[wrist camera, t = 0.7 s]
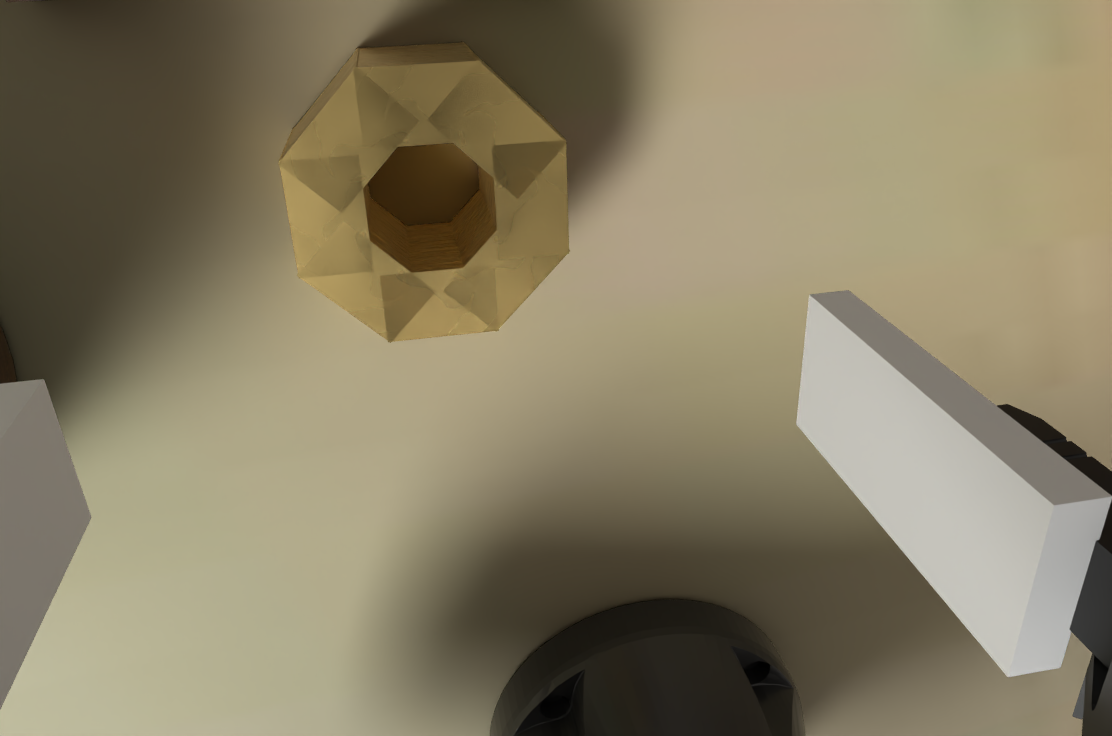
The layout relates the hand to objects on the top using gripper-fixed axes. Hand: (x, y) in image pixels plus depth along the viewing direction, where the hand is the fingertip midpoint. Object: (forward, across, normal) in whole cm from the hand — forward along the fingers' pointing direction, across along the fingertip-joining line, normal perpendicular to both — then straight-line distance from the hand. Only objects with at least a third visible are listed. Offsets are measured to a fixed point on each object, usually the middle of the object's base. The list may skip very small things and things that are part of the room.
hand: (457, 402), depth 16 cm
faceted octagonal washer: (+17, 0, 0) cm, 17 cm away
